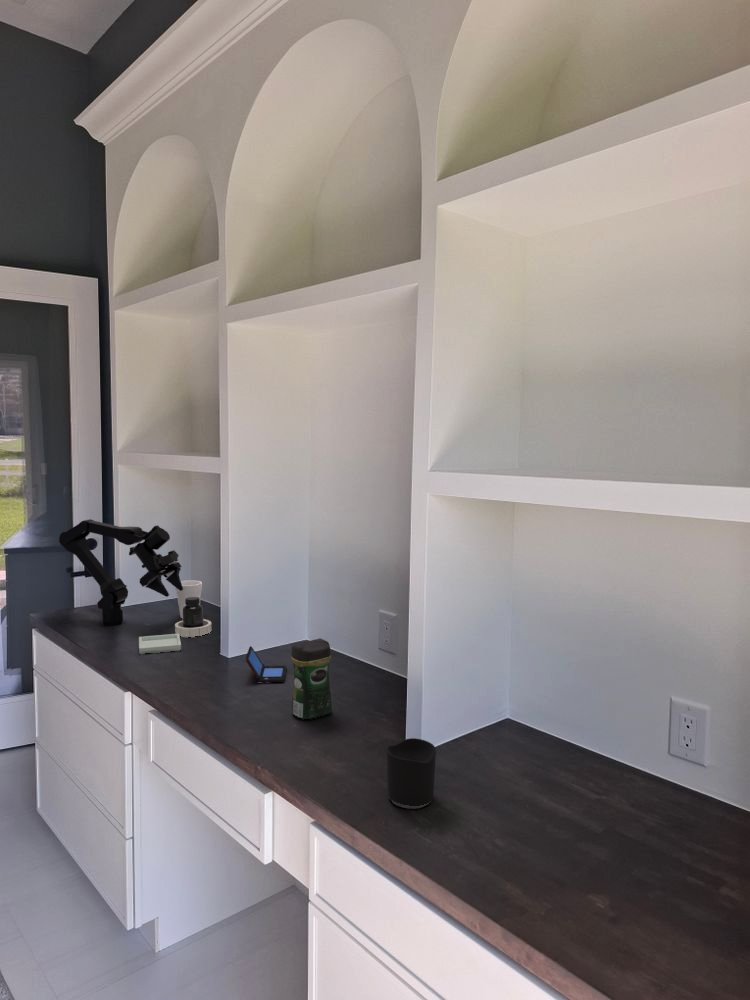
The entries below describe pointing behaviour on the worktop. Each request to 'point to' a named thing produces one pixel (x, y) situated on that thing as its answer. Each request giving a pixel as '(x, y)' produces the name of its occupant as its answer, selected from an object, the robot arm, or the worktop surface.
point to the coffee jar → (311, 679)
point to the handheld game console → (264, 669)
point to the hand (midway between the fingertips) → (175, 593)
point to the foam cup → (188, 592)
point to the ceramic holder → (193, 629)
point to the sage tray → (159, 643)
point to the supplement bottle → (192, 613)
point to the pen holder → (411, 772)
